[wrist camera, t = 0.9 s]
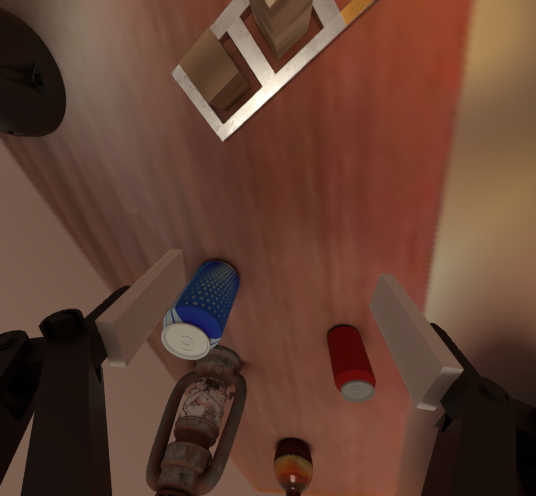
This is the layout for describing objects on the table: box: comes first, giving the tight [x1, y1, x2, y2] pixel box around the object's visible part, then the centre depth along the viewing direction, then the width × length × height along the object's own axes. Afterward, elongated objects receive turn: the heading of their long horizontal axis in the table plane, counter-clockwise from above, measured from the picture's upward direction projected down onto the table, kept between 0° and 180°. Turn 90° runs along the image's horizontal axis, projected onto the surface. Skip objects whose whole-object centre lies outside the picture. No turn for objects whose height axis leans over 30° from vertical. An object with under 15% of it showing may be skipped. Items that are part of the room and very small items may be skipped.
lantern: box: [146, 345, 247, 496], centre depth 39 cm, size 11×16×35 cm
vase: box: [274, 439, 313, 496], centre depth 62 cm, size 11×11×15 cm
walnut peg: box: [178, 27, 251, 111], centre depth 27 cm, size 4×4×8 cm
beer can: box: [161, 261, 240, 360], centre depth 37 cm, size 8×8×16 cm
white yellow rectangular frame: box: [171, 0, 378, 142], centre depth 27 cm, size 10×28×2 cm, turn 128°
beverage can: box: [327, 326, 376, 402], centre depth 42 cm, size 7×7×12 cm
